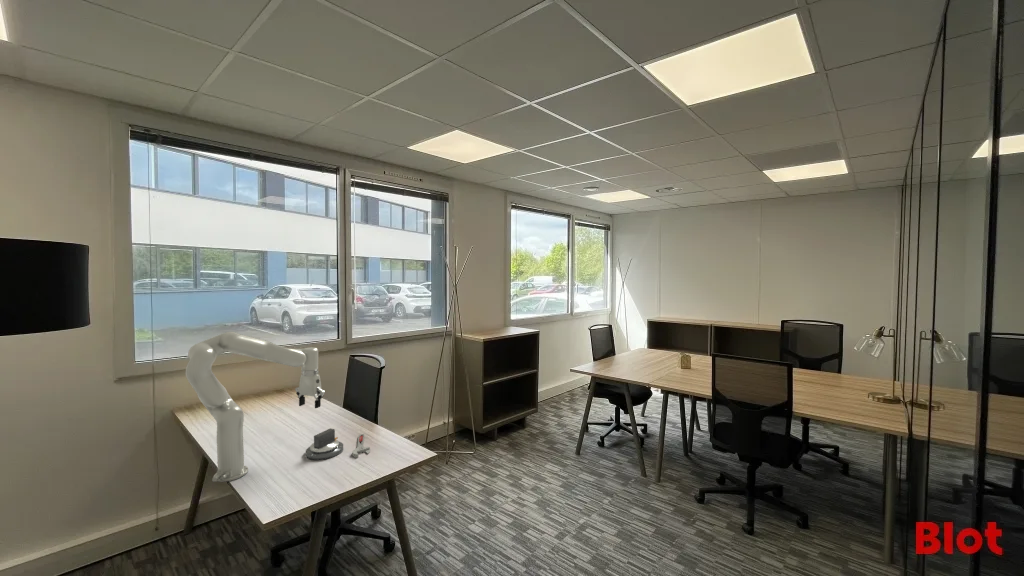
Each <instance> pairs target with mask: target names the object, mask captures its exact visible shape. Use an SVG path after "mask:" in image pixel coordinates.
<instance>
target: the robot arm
mask: <svg viewBox="0 0 1024 576" xmlns="http://www.w3.org/2000/svg"><path fill="white" fill-rule="evenodd" d="M226 352H228V353H230V354H231V353H232V354H236V355H240V356H246V357H249V358H253V359H258V360H263V361H265V362H266V361H267V362H271V363H275V364H280V365H284V366H289V367H293V368H300V369H301V375H300V377H299V378H300V379H299V385H298V386H297V387H295V389H294V390H295V392H296V395H297V398H298V406H299V407H302V406H304V405H305V404H306V396H308V397H314V399H315V400H314V409H318V408H321V406H322V405H321V402H322V401H321V400H322V398H323V397H324V396H325V393H326V392H325V390H324V389H322V381H321V380H322V379H321V376H320V371H319V349H318V347H311V346H310V347H305V348H288V347H284V346H281V345H278V344H276V343H273V342H270V341H268V340H264V339H260V338H256V337H252V336H248V335H244V334H240V333H238V332H235V331H227V332H223V333H221V334H217V335H216V336H213V337H210V338H208V339H205V340H202V341H199V342H197V343H195V344H194V345H192V346H191V347H190V349H189V350H188V359H189V360H188V362H187V364H186V367H185V377H186V379H187V382H188V383H189V384H190V386H191V388H192V389H193V390H194V392H195V393H196V395H197V398H198V399H199V401H200V403H202V405H203V406H204V407H205V408H206V410H207V411H208V413H210V415H211V416H212V418H213V419H214V420H215V421H216V454H217V456H216V457H217V458H216V459H217V470H216V473H215V474H214V475H213V477H212V479H211V481H212V482H217V483H224V482H225V483H226V482H231V481H234V480H237V479H239V478H242V477H243V476H245V475H247V474H248V472H249V467H248V466H247V465H245V453H244V452H245V450H244V421H245V414H244V411H243V409H242V407H241V406H240V405H239V404H237V403H236V401H235V400H233V398H232V397H231V395H230V394H229V392H228V391H227V388H226V387H225V386H224V385H223V384H222V383H221V382H220V380H219V379H218V378H217V377H216V375H215V373H214V372H213V369H212V367H213V364H214V363H215V361H216V360H217V356H220V355H222V354H224V353H226Z"/></svg>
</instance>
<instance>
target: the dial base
mask: <svg viewBox="0 0 1024 576" xmlns="http://www.w3.org/2000/svg"><path fill="white" fill-rule="evenodd" d="M343 451H344V443H343V442H341V441H339V447H338V448H336V449H335V450H333V451H330V452H326V453H312V452H311V451H310V446H308V447H307V448H306V449H305V457H306V458H307V460H310V461H324V460H325V461H326V460H328V459H332V458H335V457H337V456H339V455H340V454H342V453H343Z"/></svg>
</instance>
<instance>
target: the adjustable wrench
mask: <svg viewBox="0 0 1024 576" xmlns="http://www.w3.org/2000/svg"><path fill="white" fill-rule="evenodd" d="M357 437H358V438H357V447H356V448H355V449H354V450H352V451H351V456H352V455H353V456H355V457H354V458H357V457H358V458H359V454H358V453H360V454H362V452H363V453H366V454H370V452H371V447H370V446H364V443H365V434H364V433H362V434H359V435H358V436H357ZM360 442H361V443H360ZM353 456H352V457H353Z"/></svg>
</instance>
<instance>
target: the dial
mask: <svg viewBox="0 0 1024 576" xmlns="http://www.w3.org/2000/svg"><path fill="white" fill-rule="evenodd" d="M338 438H339V437H337V436H336V430H335V428H327V429H326V430H323V431H322V432H319V433H318V434H315V435H313V443H312V444H310V446H309V447H310V451H311V452H312V453H326V452H330V451H333V450H335V449H336V448H338V447H339V442H340V441H339V440H338Z"/></svg>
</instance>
